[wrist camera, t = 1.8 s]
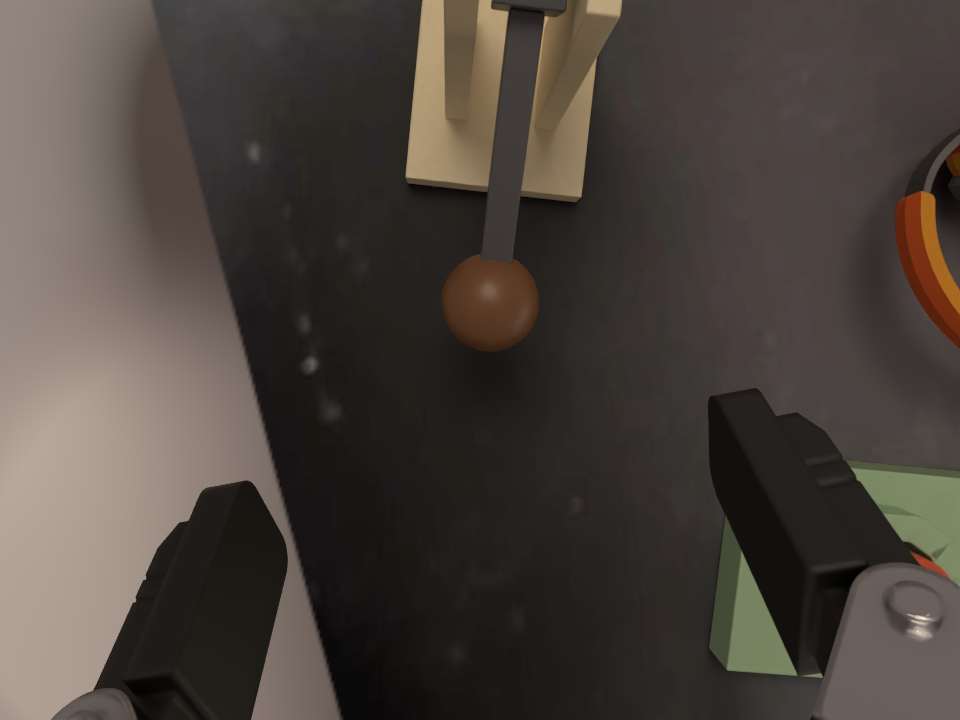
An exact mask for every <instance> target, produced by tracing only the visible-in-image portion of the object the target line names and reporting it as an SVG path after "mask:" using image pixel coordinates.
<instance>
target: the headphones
mask: <svg viewBox="0 0 960 720" xmlns="http://www.w3.org/2000/svg"><path fill="white" fill-rule="evenodd" d="M945 159H946V162H947V166H948V168H949V170H950V171H951V173H952V175H953V177H952V178H951V180H950V182H949V184H948V188H949V189H950V191H951V193H952V194H953V196H954V198H955V199H956V200H960V129H959V130H957V131H956V132H954V133H953V134H951V135H950V136H948V137H947V138H946V139H945V140H943V141H942V142H941V143H940V144H939V145H938V146H937V147H935V148H934V149H933V150H932V151H931V152H930V153H929V154H928V155H927V156H926V157H925V158H924V159H923V160H922V161H921V162H920V164H919V165H918V167H917V168H916V169H915V171H914V172H913V174H912V176H911V179H910V181H909V183H908V185H907V189H906V192H905V196H904V198H903V199H901V200H900V201H899V202H898V203H897V206H896V211H895V229H896V242H897V246H898V251H899V256H900V260H901V263H902V266H903V270H904V272H905V275H906V277H907V280H908V282H909V284H910V287H911V288H912V290H913V292H914V294H915V295H916V297H917V299H918V301H919V303H920V304H921V306H922V307H923V308H924V310H925V311H926V313H927V314H928V315H929V317H930V318H931V320H932V321H933V322H934V323H935V324H936V325H937V327H938V328H939V329H940V330H941V331H942V332H943V333H944V334H945V335H946V336H947V337H948V338H949V339H950V340H951V341H952V342H953V343H954V344H955V345H956V346H957V347H958V348H960V290H959V289H958V287H957V285H956V284H955V282H954V280H953V278H952V276H951V274H950V273H949V271H948V268H947V266H946V263H945V261H944V258H943V255H942V252H941V249H940V246H939V241H938V236H937V231H936V219H935V197H934V196H933V195H932V194H930V191H931V188H932V184H933V180H934V178H935V176H936V174H937V171H938V169H939V167H940V166H941V164H942V163H943V162H944V160H945Z"/></svg>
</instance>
